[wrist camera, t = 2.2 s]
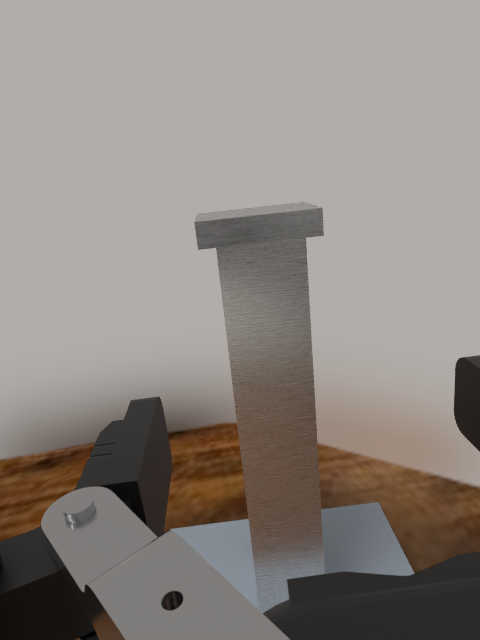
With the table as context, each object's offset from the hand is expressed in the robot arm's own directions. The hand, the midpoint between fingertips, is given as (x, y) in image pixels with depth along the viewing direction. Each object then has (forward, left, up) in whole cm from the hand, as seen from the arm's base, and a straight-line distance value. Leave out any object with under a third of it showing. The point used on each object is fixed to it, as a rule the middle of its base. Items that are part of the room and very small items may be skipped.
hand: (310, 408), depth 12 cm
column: (-9, +7, -19) cm, 22 cm away
